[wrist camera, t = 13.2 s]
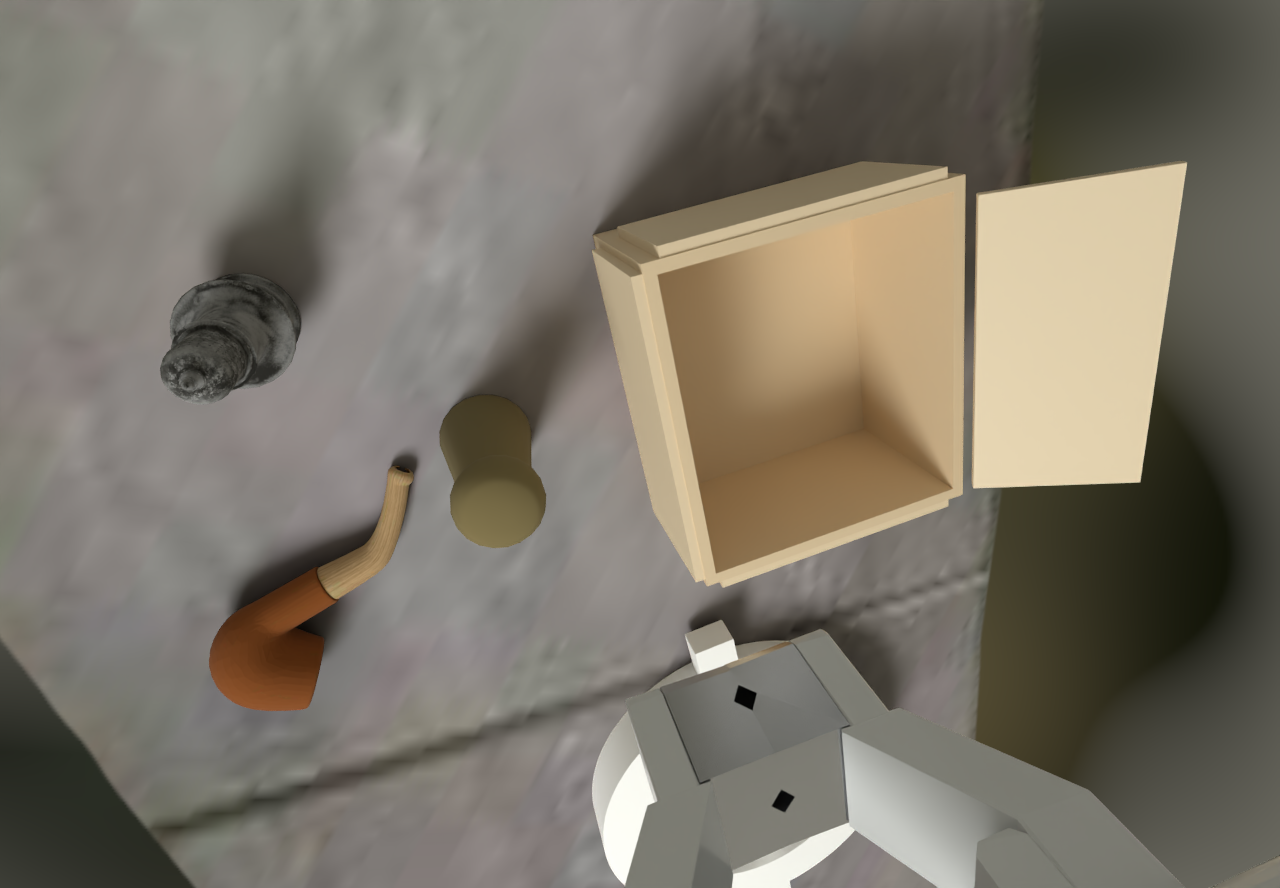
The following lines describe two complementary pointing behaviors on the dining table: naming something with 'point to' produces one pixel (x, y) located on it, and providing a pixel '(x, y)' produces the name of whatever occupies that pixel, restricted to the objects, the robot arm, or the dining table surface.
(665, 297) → the carton
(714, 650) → the ring with crossbar
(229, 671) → the smoking pipe
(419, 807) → the dining table surface
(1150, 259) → the carton flap
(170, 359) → the grey chess piece
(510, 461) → the cork
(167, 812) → the dining table surface
